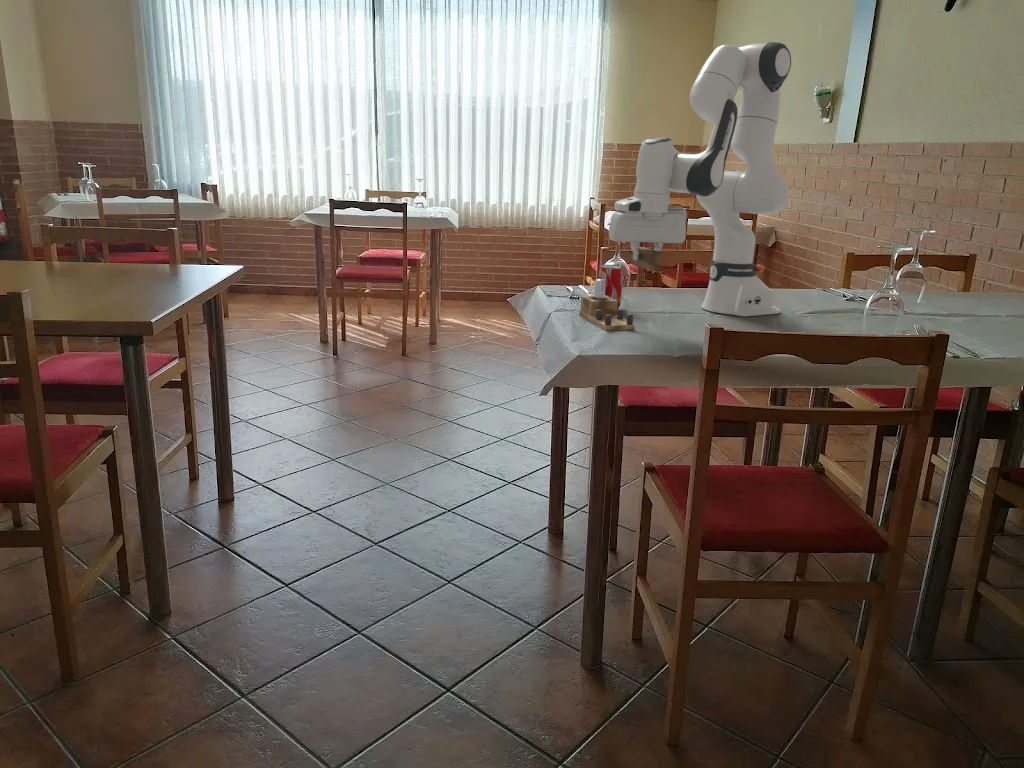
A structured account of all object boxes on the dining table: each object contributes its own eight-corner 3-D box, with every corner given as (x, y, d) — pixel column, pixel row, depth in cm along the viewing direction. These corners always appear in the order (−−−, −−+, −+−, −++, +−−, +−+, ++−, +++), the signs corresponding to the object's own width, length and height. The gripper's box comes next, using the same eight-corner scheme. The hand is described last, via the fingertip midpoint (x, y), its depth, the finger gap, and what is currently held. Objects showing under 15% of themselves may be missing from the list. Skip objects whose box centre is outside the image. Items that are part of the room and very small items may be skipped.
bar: (641, 264, 204) (643, 247, 202) (659, 270, 195) (661, 252, 193) (631, 264, 203) (632, 246, 202) (648, 269, 194) (650, 251, 192)
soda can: (619, 311, 218) (623, 269, 215) (594, 309, 220) (597, 267, 216) (621, 306, 225) (624, 265, 222) (596, 304, 226) (600, 263, 223)
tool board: (606, 314, 214) (607, 295, 213) (634, 329, 198) (636, 309, 196) (579, 314, 212) (580, 295, 210) (605, 330, 195) (607, 310, 194)
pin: (600, 311, 211) (602, 278, 208) (605, 313, 208) (607, 280, 206) (591, 312, 210) (593, 279, 207) (595, 314, 208) (597, 280, 205)
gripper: (681, 205, 200) (675, 258, 204) (608, 202, 194) (603, 257, 198) (693, 207, 195) (687, 262, 199) (619, 204, 189) (614, 261, 193)
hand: (644, 260), depth 198 cm, fingers closed on bar, 3 cm apart
